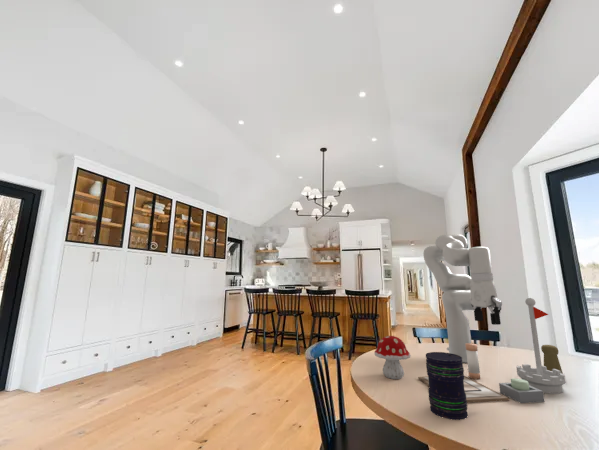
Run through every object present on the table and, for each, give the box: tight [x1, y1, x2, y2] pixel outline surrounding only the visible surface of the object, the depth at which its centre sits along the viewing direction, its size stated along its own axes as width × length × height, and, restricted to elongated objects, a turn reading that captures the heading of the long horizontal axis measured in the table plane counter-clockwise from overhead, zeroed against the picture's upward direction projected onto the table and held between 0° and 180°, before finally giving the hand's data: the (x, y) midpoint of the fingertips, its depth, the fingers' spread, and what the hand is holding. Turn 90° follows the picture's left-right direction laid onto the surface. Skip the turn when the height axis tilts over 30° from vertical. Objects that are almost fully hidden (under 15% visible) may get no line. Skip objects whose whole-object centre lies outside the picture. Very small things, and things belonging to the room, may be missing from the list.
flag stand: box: [516, 297, 566, 394], centre depth 103 cm, size 13×13×30 cm
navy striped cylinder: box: [425, 351, 469, 421], centre depth 84 cm, size 10×10×15 cm
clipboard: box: [417, 375, 510, 404], centre depth 100 cm, size 22×18×1 cm
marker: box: [465, 342, 482, 380], centre depth 112 cm, size 4×4×12 cm
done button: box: [510, 378, 529, 391], centre depth 93 cm, size 5×5×4 cm
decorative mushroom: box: [374, 335, 412, 380], centre depth 114 cm, size 14×14×15 cm
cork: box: [540, 344, 564, 374], centre depth 114 cm, size 6×6×11 cm
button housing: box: [498, 382, 545, 404], centre depth 93 cm, size 8×8×3 cm
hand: (487, 322), depth 113 cm, fingers open, 9 cm apart
